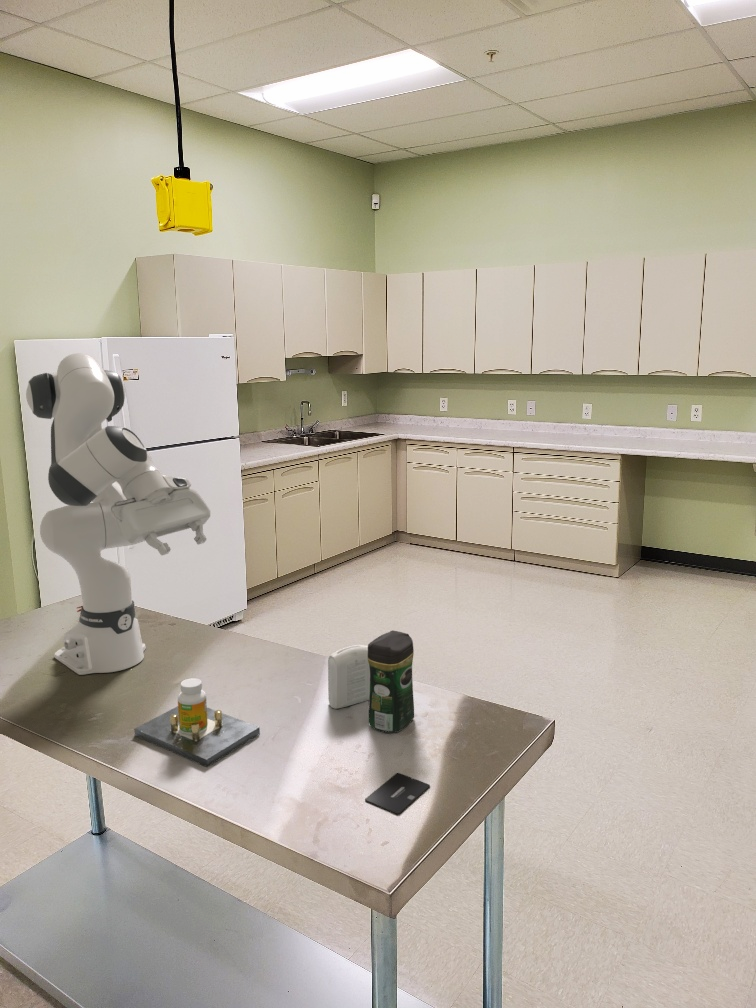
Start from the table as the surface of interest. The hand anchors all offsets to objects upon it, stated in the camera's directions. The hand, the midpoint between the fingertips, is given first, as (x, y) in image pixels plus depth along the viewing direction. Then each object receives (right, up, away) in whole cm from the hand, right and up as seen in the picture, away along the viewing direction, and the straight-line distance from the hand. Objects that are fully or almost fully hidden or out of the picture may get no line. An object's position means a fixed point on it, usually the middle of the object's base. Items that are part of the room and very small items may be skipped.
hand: (185, 547), depth 156 cm
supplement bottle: (+3, -35, -6) cm, 36 cm away
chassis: (+4, -36, -5) cm, 37 cm away
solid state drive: (+43, -41, -24) cm, 64 cm away
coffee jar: (+42, -35, -1) cm, 55 cm away
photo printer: (+33, -33, +8) cm, 48 cm away
